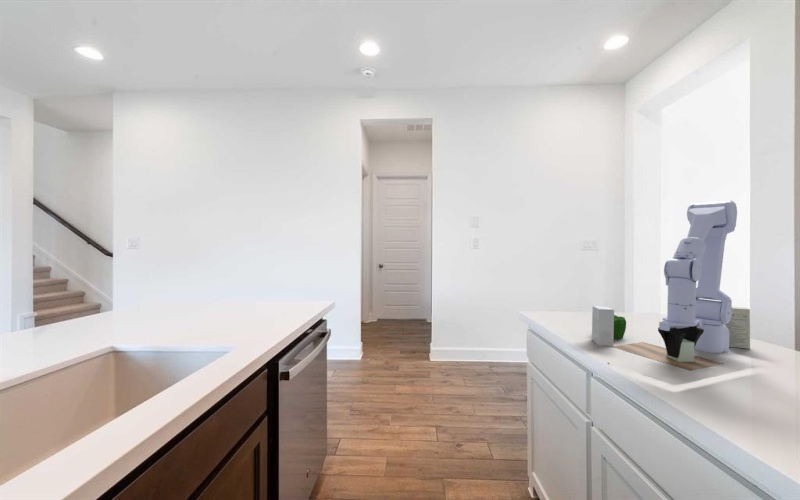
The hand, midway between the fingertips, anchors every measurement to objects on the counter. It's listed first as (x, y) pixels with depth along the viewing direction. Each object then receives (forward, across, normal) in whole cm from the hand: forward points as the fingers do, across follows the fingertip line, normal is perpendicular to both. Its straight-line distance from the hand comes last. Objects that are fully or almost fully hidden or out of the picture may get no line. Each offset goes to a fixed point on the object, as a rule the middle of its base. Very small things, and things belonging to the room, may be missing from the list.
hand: (680, 355), depth 89 cm
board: (+2, 0, -4) cm, 5 cm away
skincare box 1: (+2, +6, -18) cm, 19 cm away
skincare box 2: (+2, -34, -4) cm, 35 cm away
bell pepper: (+2, -4, -22) cm, 22 cm away
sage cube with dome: (+1, 0, 0) cm, 1 cm away
